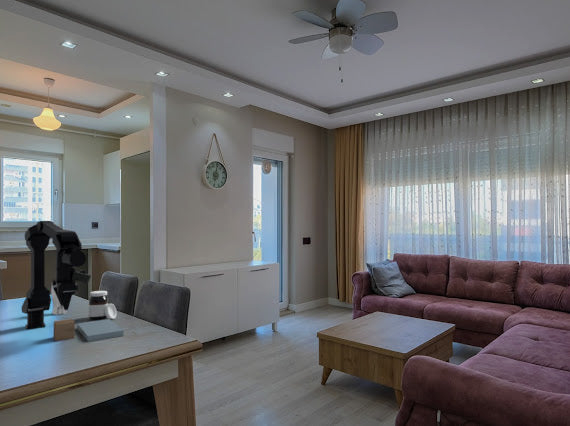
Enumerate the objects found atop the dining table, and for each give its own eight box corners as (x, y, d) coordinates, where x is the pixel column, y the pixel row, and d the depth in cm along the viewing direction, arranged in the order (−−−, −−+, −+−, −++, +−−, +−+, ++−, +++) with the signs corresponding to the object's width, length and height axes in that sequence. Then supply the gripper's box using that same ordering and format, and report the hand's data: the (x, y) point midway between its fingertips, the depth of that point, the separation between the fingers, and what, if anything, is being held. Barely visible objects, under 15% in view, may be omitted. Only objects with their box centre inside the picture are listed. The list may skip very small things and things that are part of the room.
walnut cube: (53, 337, 141) (53, 321, 141) (71, 334, 145) (72, 318, 145) (55, 341, 136) (55, 324, 136) (74, 338, 140) (74, 321, 140)
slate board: (77, 328, 153) (77, 323, 153) (109, 323, 160) (109, 318, 160) (87, 341, 135) (87, 336, 135) (123, 335, 142) (123, 330, 143)
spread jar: (90, 316, 173) (90, 290, 173) (117, 314, 177) (117, 289, 178) (87, 322, 162) (87, 295, 162) (116, 320, 166) (116, 293, 166)
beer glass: (71, 312, 180) (71, 281, 181) (55, 315, 175) (56, 282, 175) (63, 311, 184) (63, 279, 185) (47, 314, 178) (48, 281, 179)
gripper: (94, 265, 139) (93, 309, 138) (84, 261, 154) (84, 301, 153) (58, 268, 132) (58, 313, 131) (52, 263, 147) (51, 304, 146)
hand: (64, 307), depth 141 cm, fingers open, 9 cm apart
